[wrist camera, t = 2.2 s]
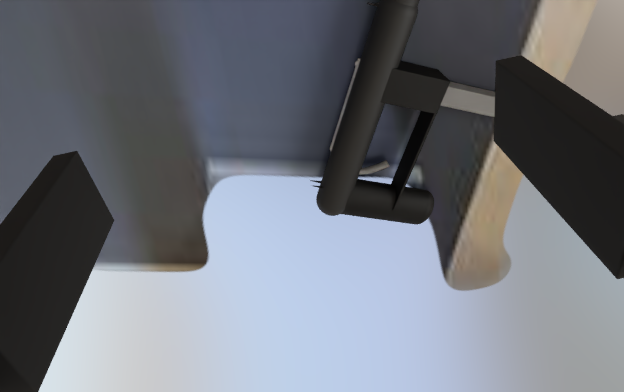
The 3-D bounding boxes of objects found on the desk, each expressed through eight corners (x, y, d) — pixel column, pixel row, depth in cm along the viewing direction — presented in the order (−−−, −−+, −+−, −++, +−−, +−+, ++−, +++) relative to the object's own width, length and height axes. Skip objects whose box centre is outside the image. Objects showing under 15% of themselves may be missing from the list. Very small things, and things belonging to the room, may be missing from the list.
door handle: (569, 38, 36) (376, -15, 32) (460, 239, 47) (303, 218, 43) (546, 26, 39) (365, -24, 35) (448, 219, 49) (299, 197, 45)
